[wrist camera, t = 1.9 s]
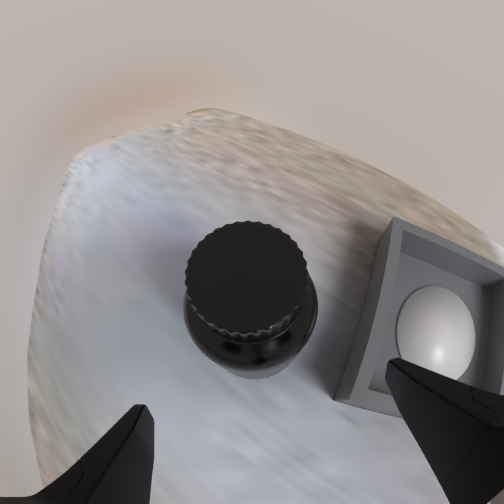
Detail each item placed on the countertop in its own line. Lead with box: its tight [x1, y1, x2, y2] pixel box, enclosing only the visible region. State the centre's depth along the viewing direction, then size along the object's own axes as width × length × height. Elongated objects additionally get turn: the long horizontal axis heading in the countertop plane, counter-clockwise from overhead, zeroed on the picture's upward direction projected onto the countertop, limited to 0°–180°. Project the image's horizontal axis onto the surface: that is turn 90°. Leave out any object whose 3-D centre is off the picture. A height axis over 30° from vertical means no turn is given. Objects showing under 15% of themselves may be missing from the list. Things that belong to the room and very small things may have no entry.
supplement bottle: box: [183, 221, 318, 379], centre depth 16 cm, size 7×7×12 cm
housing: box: [333, 217, 504, 418], centre depth 18 cm, size 15×15×4 cm
